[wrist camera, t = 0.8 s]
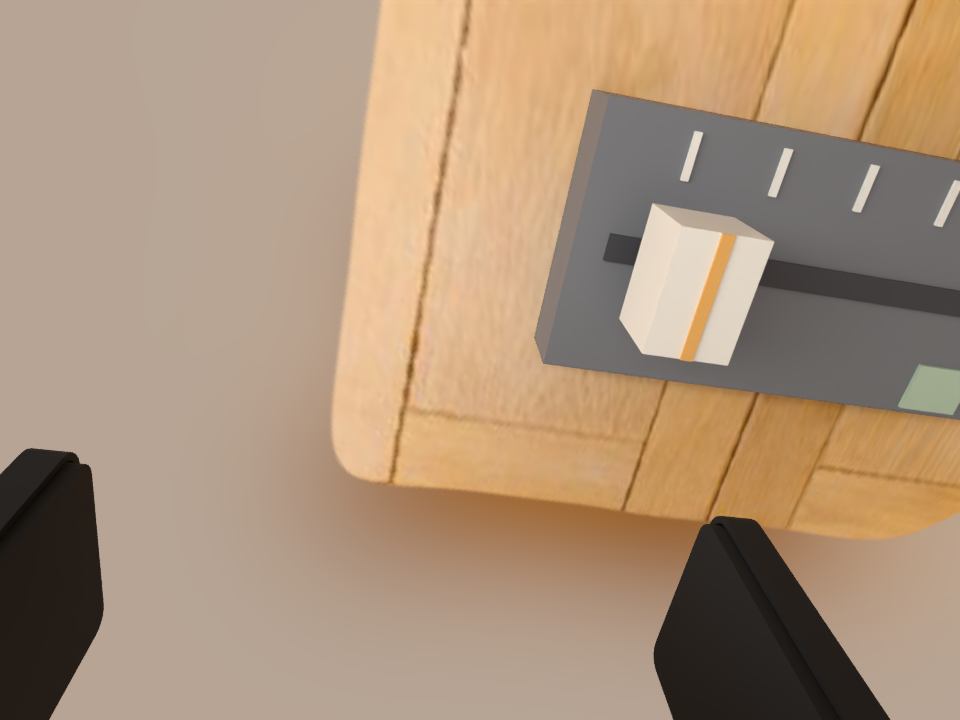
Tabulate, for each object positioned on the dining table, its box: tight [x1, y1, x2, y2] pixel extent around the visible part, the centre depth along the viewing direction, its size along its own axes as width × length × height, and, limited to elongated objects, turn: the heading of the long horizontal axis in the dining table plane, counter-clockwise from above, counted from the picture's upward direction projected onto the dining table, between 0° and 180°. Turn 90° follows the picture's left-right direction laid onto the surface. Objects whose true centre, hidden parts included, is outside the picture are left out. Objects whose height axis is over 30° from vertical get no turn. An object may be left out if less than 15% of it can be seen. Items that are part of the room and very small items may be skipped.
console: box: [534, 89, 960, 420], centre depth 32 cm, size 12×24×3 cm, turn 80°
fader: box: [619, 203, 774, 366], centre depth 27 cm, size 5×4×5 cm
